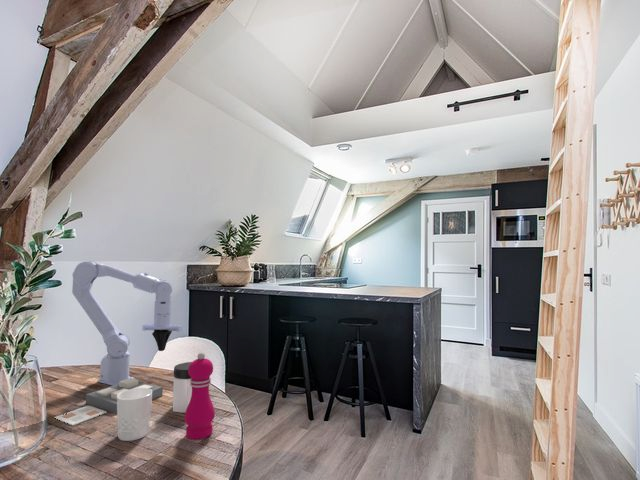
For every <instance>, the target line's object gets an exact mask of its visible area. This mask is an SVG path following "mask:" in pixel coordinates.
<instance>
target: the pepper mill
mask: <svg viewBox="0 0 640 480" xmlns="http://www.w3.org/2000/svg"><path fill="white" fill-rule="evenodd" d="M205 357H206V354H205V353H204V352H199V353H198V354H197V359H195V360H193V361H191V362H192V363H191V364H190V365H189V369H188V373H189V376H190V377H191V378H192V379H191V380H190V382H191V383H190V386H192V396H191V399H190V402H189V404H188V407H187V409H186V412H185V413H184V423H185V424H186V425H187V426H186V429H185V431H186V432H185V436H186V437H187V438H188V439H190V440H203V439H207V438H208V437H209V436H211V435H212V434H213V430H214V429H213V427H214V426H213V423H212V422H213V421H214V419H215V417H216V413H215V407H214V404H213V401H212V398H211V396H210V385H211V383H212V381H211V380H212V377H211V375H213V372H214V365H213V363H212V360H210V359H208V358H205Z"/></svg>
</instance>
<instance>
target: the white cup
mask: <svg viewBox="0 0 640 480" xmlns="http://www.w3.org/2000/svg"><path fill="white" fill-rule="evenodd" d="M152 400H153V399H152V390H151V389H148V388H135V389H130V390H126V391H123V392H121V393H119V394H118V395H117V413H116V418H117V419H116V421H117V438H118V439H119V440H120V441H125V442H130V441H131V442H132V441H136V440H139V439H142V438H144V437H146V436H147V435H148V434H149V431H150V430H149V429H150V421H151V414H152Z"/></svg>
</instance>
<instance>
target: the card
mask: <svg viewBox="0 0 640 480" xmlns="http://www.w3.org/2000/svg"><path fill="white" fill-rule="evenodd" d="M66 413H67V415H65V414H66ZM104 413H105V414H107V413H108V410H105V409H102V408H99V407H96V406H93V405H90V404H87V405H85V406H83V407H82V406H81V407H80V408H76V409H74V410H71V411H68V412H65V413H63V414H64V415H63V414H60V415H57V416H53V419H54V418H56V419H55V420H57V419H58V420H57V421H59V420H60V421H59V422H61V423H64V422H65V424H67V423H68V424H67V425H70V426H76V425H78V424H81V423H84V422H86V421H89V420H91V419H94V417H95V418H97V417H99V415H100V416H103V415H105V414H104Z"/></svg>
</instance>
